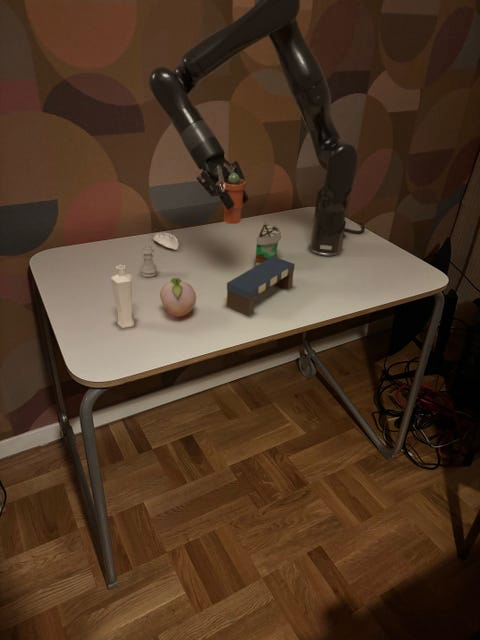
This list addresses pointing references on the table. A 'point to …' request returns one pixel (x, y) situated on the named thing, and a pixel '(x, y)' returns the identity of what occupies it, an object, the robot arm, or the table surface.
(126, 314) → the perfume bottle
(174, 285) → the decorative fruit
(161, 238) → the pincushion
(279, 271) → the dark blue bench
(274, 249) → the wedge shaped tart
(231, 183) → the pot
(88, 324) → the table surface
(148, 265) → the rook chess piece
